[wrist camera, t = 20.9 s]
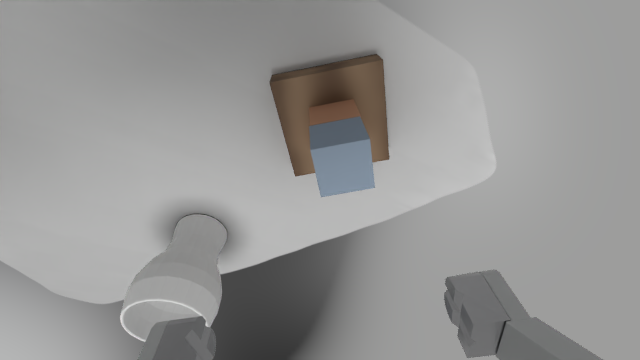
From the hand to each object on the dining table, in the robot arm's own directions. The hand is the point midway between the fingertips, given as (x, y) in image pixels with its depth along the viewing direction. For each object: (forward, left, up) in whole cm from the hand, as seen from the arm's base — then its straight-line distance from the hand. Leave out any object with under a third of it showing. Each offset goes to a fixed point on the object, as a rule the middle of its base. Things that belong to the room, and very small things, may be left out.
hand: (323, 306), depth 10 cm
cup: (-21, -20, -29) cm, 41 cm away
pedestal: (+2, -5, -29) cm, 30 cm away
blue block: (+2, -5, -21) cm, 22 cm away
